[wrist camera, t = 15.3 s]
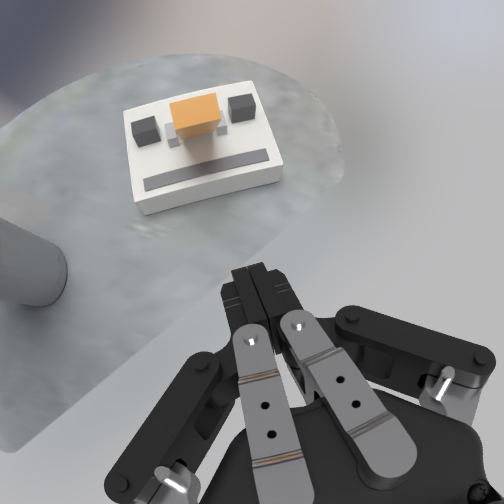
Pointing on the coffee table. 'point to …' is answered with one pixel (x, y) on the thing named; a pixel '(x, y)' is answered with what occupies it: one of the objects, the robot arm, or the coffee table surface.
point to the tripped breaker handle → (195, 115)
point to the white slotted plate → (200, 151)
